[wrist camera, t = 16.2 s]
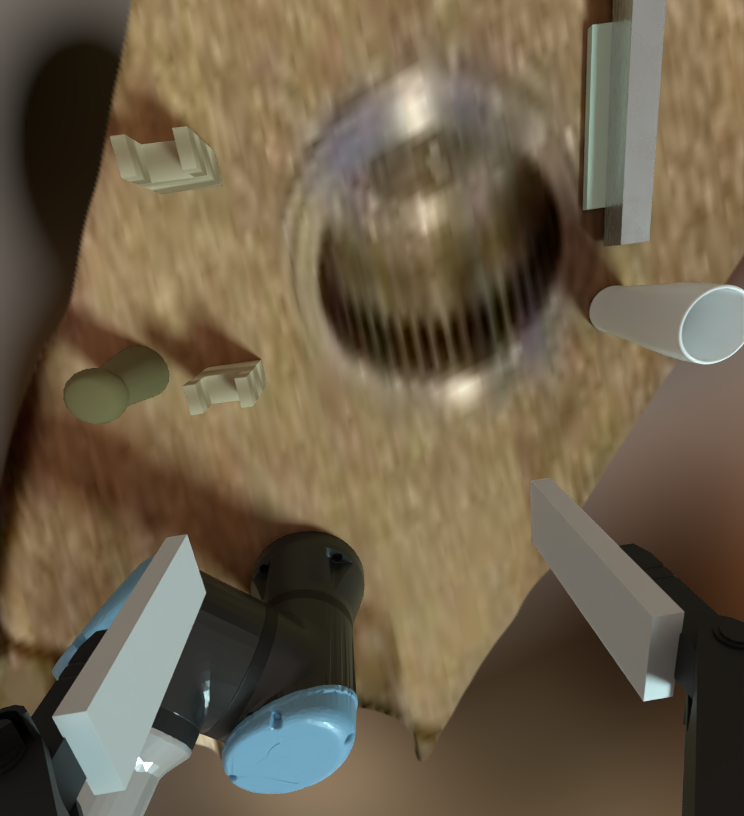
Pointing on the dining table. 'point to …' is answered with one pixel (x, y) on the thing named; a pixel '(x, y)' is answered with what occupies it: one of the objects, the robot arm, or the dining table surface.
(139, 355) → the olive round-headed peg
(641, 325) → the drinking glass
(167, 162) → the hook stands
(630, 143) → the steel rail
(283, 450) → the dining table surface
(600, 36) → the sage board
